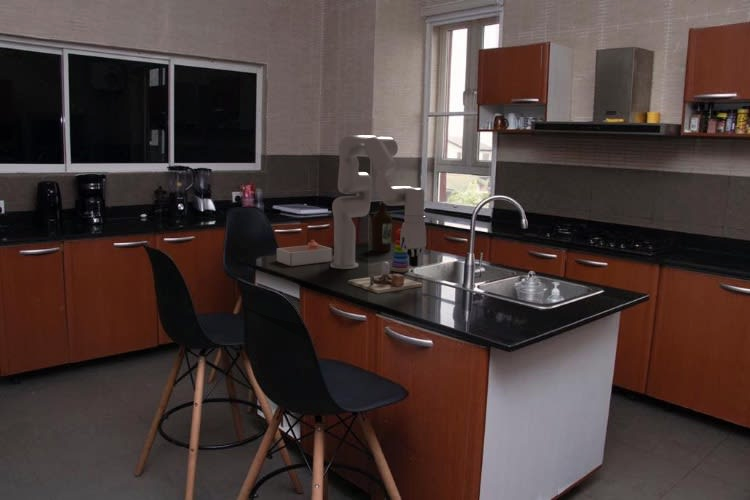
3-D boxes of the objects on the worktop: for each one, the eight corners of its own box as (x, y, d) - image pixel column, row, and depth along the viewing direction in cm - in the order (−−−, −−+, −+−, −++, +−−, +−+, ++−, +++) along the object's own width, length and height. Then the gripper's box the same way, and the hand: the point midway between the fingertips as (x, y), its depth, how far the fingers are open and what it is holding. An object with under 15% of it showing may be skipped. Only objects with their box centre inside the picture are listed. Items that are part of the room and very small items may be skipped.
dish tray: (276, 261, 307) (276, 248, 306) (317, 256, 320) (317, 244, 319) (290, 266, 296) (290, 252, 295) (332, 261, 310) (332, 248, 308)
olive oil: (366, 250, 340) (367, 201, 335) (380, 248, 347) (382, 200, 343) (381, 253, 332) (382, 203, 328) (395, 250, 340) (397, 202, 335)
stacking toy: (407, 273, 287) (408, 230, 283) (389, 272, 288) (390, 229, 285) (410, 269, 294) (411, 228, 291) (392, 268, 296) (393, 227, 293)
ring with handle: (369, 280, 265) (369, 270, 264) (387, 277, 270) (387, 268, 270) (391, 287, 253) (391, 277, 253) (409, 284, 259) (410, 274, 258)
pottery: (290, 265, 298) (290, 244, 296) (280, 262, 305) (280, 241, 304) (324, 261, 309) (324, 241, 307) (313, 258, 316) (313, 238, 314)
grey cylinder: (366, 283, 260) (367, 263, 259) (385, 280, 266) (386, 261, 265) (371, 285, 258) (371, 265, 256) (390, 282, 264) (391, 262, 262)
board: (348, 283, 266) (348, 280, 265) (391, 276, 279) (391, 274, 278) (378, 293, 250) (378, 290, 250) (422, 286, 263) (422, 283, 263)
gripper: (423, 217, 264) (422, 262, 267) (392, 219, 256) (392, 266, 259) (435, 219, 258) (434, 265, 261) (404, 221, 250) (403, 269, 253)
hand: (413, 265), depth 260 cm, fingers closed
